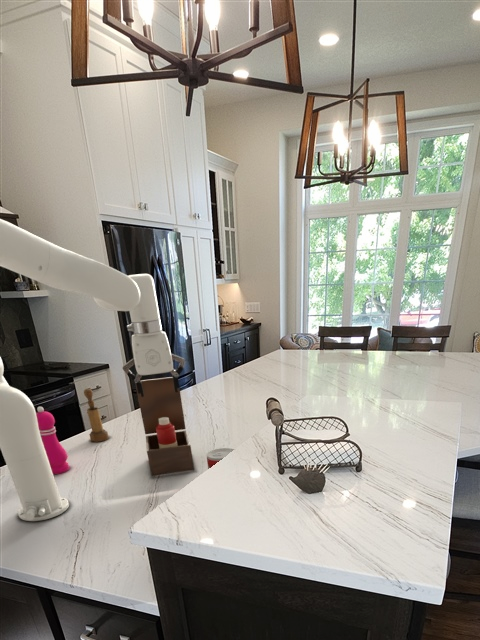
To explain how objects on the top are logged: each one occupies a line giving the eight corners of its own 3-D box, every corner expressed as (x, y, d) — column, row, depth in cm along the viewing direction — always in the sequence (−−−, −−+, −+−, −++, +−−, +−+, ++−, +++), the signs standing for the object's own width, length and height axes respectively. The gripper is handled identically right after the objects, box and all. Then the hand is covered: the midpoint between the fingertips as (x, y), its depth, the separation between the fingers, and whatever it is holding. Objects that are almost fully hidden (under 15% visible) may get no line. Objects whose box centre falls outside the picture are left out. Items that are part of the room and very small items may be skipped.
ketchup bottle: (180, 465, 144) (173, 419, 137) (162, 468, 144) (154, 422, 136) (179, 459, 149) (172, 415, 142) (162, 461, 148) (153, 417, 141)
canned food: (207, 490, 129) (202, 451, 124) (235, 483, 132) (231, 445, 126) (216, 500, 123) (211, 460, 117) (245, 493, 126) (241, 454, 120)
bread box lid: (177, 376, 140) (176, 373, 144) (134, 381, 138) (134, 377, 142) (185, 429, 149) (184, 424, 153) (145, 434, 147) (144, 429, 151)
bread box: (194, 471, 141) (190, 445, 137) (152, 478, 139) (146, 451, 135) (189, 455, 154) (185, 430, 150) (150, 460, 152) (145, 435, 148)
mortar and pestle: (112, 437, 176) (100, 387, 166) (99, 442, 171) (86, 391, 162) (100, 435, 179) (88, 386, 169) (87, 440, 174) (73, 390, 165)
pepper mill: (63, 474, 146) (43, 409, 136) (42, 474, 148) (21, 410, 137) (75, 466, 152) (57, 403, 142) (55, 465, 154) (36, 403, 143)
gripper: (114, 333, 122) (129, 400, 131) (180, 325, 124) (190, 392, 134) (114, 330, 128) (129, 394, 137) (178, 323, 130) (188, 386, 140)
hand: (159, 393), depth 135 cm, fingers open, 9 cm apart
